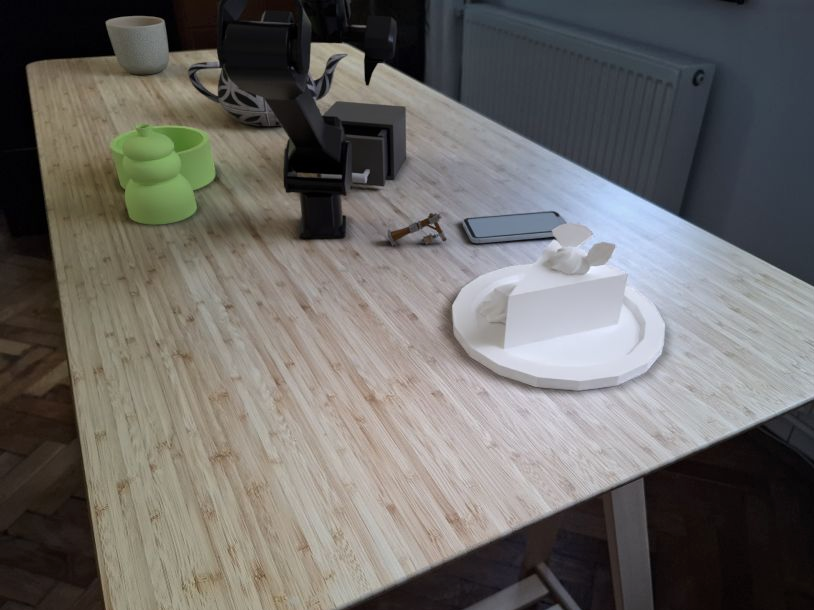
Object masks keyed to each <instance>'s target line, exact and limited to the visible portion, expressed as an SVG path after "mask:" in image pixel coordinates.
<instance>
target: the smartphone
mask: <svg viewBox="0 0 814 610" xmlns="http://www.w3.org/2000/svg"><path fill="white" fill-rule="evenodd" d="M567 223H568V222H567V221H566V220H565V219H564V218H563V216H562V215H561V213H560V212H558V211H555V210H545V211H533V212H532V211H531V212H519V213H507V214H495V215H493V214H492V215H482V216H469V217H465V218H462V224H461V225H462V228H463V229H464V231H465V233H466V235H467V237H468V239H469V241H470V242H471V243H474V244H487V243H496V242H497V243H499V242H507V241H509V242H510V241H519V240H532V239H542V238H555V236H554V235H553V233H552V230H553V229H554V228H556V227H558V226H559V225H563V224H567Z"/></svg>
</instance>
